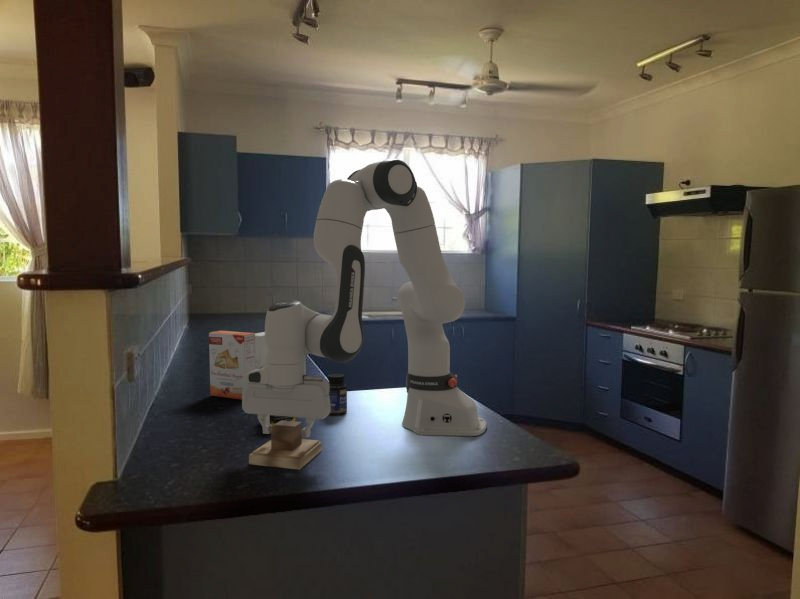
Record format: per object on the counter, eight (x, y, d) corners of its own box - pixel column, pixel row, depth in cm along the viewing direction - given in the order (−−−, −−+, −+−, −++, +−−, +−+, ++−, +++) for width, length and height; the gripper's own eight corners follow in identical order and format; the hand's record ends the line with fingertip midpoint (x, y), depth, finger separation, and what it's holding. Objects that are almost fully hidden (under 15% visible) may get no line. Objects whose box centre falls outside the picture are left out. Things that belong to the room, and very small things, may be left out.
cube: (301, 443, 125) (301, 422, 125) (292, 451, 121) (291, 428, 120) (281, 441, 127) (281, 420, 126) (271, 448, 122) (271, 426, 122)
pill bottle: (343, 416, 156) (343, 378, 155) (322, 415, 157) (322, 377, 156) (349, 410, 162) (349, 373, 161) (329, 409, 163) (329, 372, 162)
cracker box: (209, 396, 177) (207, 332, 176) (221, 392, 183) (220, 329, 181) (244, 400, 172) (243, 334, 171) (256, 396, 178) (255, 332, 176)
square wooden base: (321, 450, 128) (321, 439, 128) (299, 469, 117) (299, 458, 116) (275, 445, 131) (274, 435, 131) (249, 464, 120) (248, 452, 119)
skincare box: (266, 370, 219) (265, 331, 218) (277, 372, 215) (277, 332, 214) (249, 373, 212) (248, 333, 211) (260, 376, 208) (260, 335, 207)
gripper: (334, 373, 123) (335, 434, 124) (252, 368, 128) (253, 427, 129) (323, 379, 117) (324, 443, 118) (237, 374, 122) (239, 435, 123)
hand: (286, 434), depth 124 cm, fingers open, 8 cm apart
